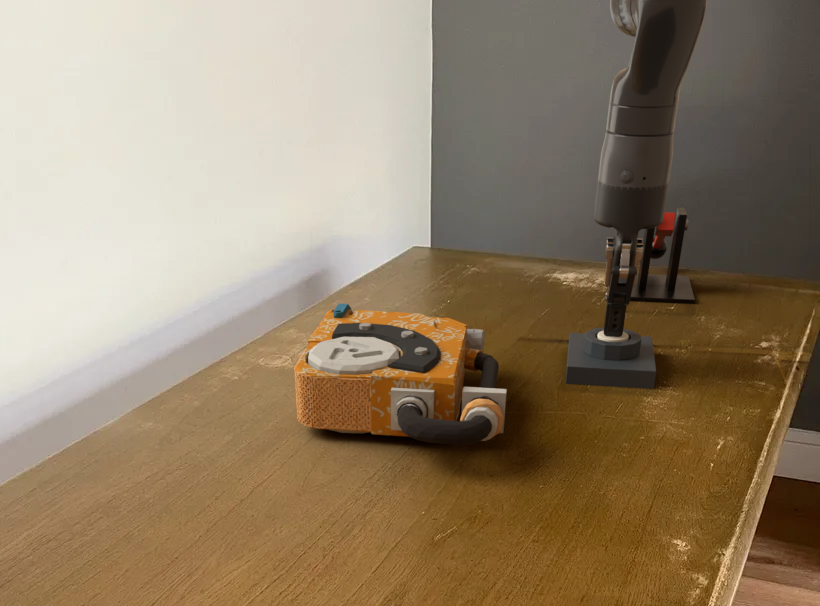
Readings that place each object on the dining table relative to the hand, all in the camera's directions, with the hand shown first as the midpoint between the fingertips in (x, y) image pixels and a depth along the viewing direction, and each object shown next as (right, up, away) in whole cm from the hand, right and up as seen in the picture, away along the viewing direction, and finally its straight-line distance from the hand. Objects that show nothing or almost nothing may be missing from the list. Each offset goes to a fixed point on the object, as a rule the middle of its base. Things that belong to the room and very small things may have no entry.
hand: (612, 334), depth 113 cm
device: (-25, -11, -8) cm, 28 cm away
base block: (0, -3, +2) cm, 4 cm away
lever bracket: (+13, +13, +26) cm, 32 cm away
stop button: (0, -1, +1) cm, 2 cm away
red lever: (+13, +20, +26) cm, 35 cm away
